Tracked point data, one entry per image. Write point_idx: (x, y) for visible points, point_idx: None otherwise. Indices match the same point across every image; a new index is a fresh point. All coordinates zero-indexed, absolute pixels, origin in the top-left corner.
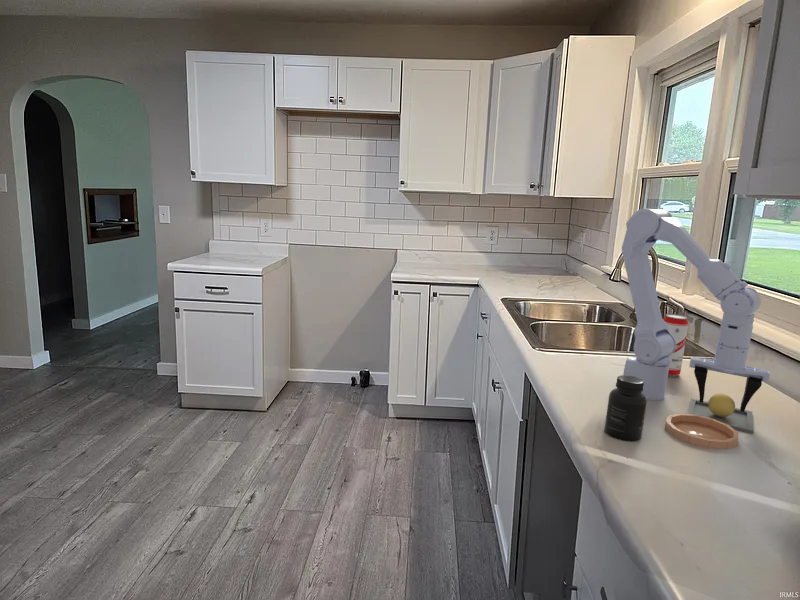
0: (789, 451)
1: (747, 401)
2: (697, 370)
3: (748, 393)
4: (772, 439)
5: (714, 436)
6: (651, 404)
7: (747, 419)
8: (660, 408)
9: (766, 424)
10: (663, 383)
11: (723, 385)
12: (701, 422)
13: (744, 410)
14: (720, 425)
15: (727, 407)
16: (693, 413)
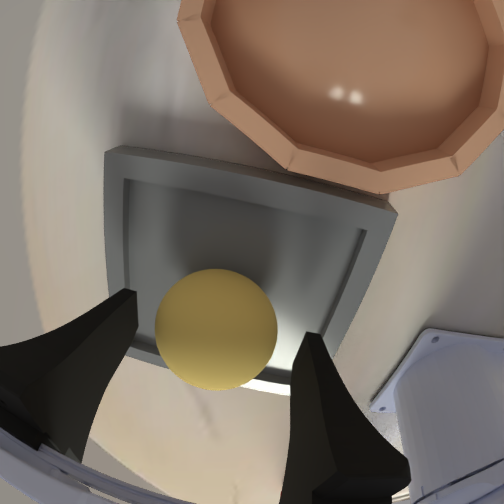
0: (33, 86)
1: (87, 314)
2: (375, 499)
3: (61, 344)
4: (63, 168)
5: (299, 8)
6: (456, 325)
7: (123, 277)
8: (441, 304)
9: (85, 300)
10: (438, 414)
11: (195, 467)
12: (339, 156)
13: (118, 291)
14: (252, 108)
15: (191, 288)
16: (342, 278)
